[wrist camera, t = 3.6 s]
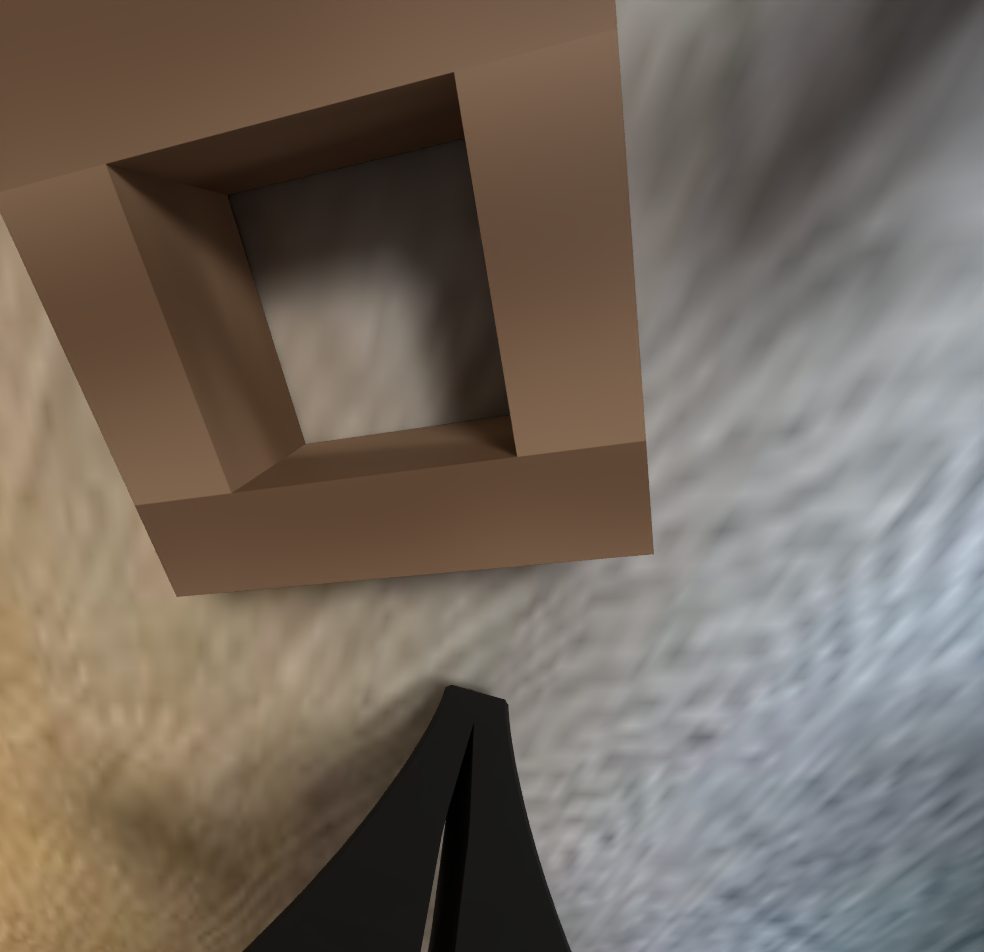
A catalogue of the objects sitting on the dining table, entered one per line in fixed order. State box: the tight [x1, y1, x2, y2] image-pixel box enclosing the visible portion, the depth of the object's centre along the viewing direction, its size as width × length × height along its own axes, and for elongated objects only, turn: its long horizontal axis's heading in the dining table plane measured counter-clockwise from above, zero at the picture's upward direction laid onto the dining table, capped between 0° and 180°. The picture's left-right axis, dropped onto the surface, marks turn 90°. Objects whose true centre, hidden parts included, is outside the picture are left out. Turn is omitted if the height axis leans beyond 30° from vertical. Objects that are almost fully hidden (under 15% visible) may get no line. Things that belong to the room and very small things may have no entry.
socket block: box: [0, 0, 654, 597], centre depth 8 cm, size 8×8×2 cm
